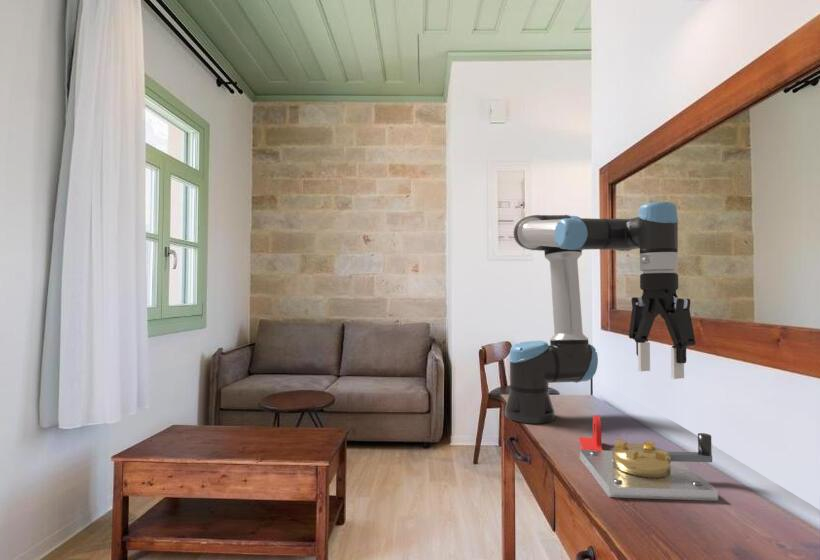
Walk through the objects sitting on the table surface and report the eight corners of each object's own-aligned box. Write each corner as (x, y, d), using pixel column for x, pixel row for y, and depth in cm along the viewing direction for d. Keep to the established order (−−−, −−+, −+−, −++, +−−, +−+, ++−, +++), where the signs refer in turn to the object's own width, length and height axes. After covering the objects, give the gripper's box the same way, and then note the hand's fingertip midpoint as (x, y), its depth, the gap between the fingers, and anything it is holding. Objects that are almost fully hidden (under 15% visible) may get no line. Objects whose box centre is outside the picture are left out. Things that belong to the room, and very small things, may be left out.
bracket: (579, 441, 120) (578, 411, 120) (597, 442, 119) (597, 412, 119) (584, 457, 108) (584, 424, 108) (605, 459, 107) (604, 426, 107)
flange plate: (579, 458, 108) (579, 448, 108) (667, 460, 106) (667, 450, 106) (609, 497, 88) (609, 485, 88) (718, 500, 86) (717, 488, 86)
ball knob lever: (624, 476, 92) (623, 441, 92) (605, 456, 103) (605, 425, 103) (726, 479, 90) (726, 444, 90) (696, 458, 101) (696, 427, 101)
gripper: (610, 273, 110) (612, 367, 110) (687, 270, 90) (689, 385, 89) (635, 273, 112) (637, 365, 112) (716, 270, 92) (717, 382, 92)
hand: (660, 374), depth 101 cm, fingers open, 8 cm apart
